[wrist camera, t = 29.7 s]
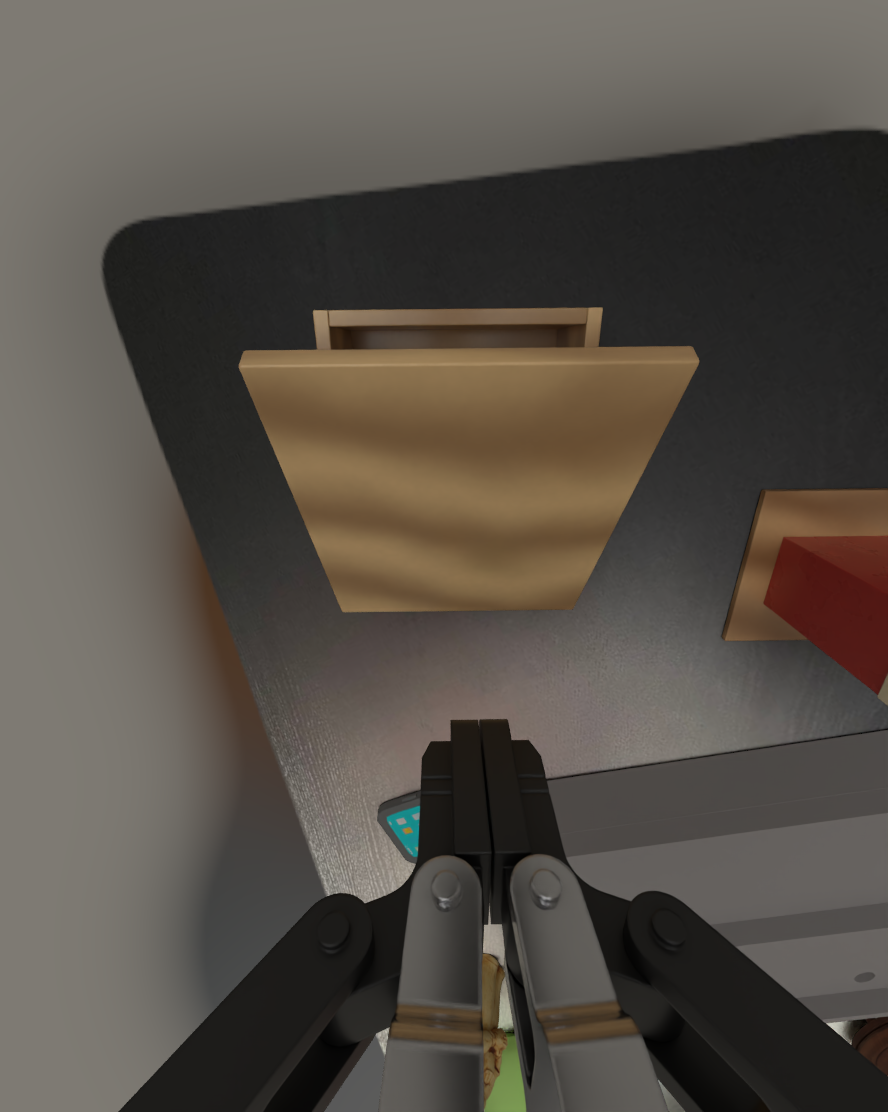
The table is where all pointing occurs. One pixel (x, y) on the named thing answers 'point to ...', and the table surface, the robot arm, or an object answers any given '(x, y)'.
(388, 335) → the chest
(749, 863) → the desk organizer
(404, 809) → the smartphone
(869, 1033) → the wooden spool stand
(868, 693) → the table surface
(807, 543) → the biscuit tin
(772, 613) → the wooden square board
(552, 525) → the chest lid
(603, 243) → the table surface
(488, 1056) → the figurine
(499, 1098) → the teapot
